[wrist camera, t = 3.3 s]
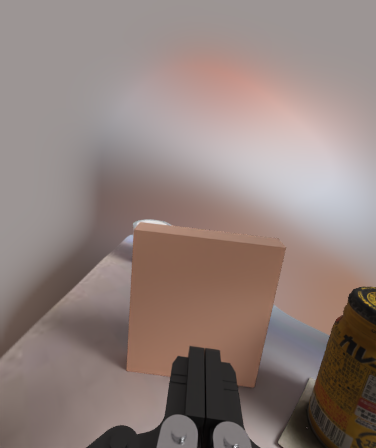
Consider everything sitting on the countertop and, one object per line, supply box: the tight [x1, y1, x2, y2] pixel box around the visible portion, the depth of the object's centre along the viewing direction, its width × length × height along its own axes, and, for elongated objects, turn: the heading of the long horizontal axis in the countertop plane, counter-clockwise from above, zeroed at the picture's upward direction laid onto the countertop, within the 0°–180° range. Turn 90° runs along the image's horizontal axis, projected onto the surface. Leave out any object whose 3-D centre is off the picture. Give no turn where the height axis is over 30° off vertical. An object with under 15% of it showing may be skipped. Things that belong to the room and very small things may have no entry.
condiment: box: [278, 287, 376, 448], centre depth 19 cm, size 7×8×12 cm
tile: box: [126, 222, 286, 388], centre depth 24 cm, size 2×12×14 cm, turn 86°
